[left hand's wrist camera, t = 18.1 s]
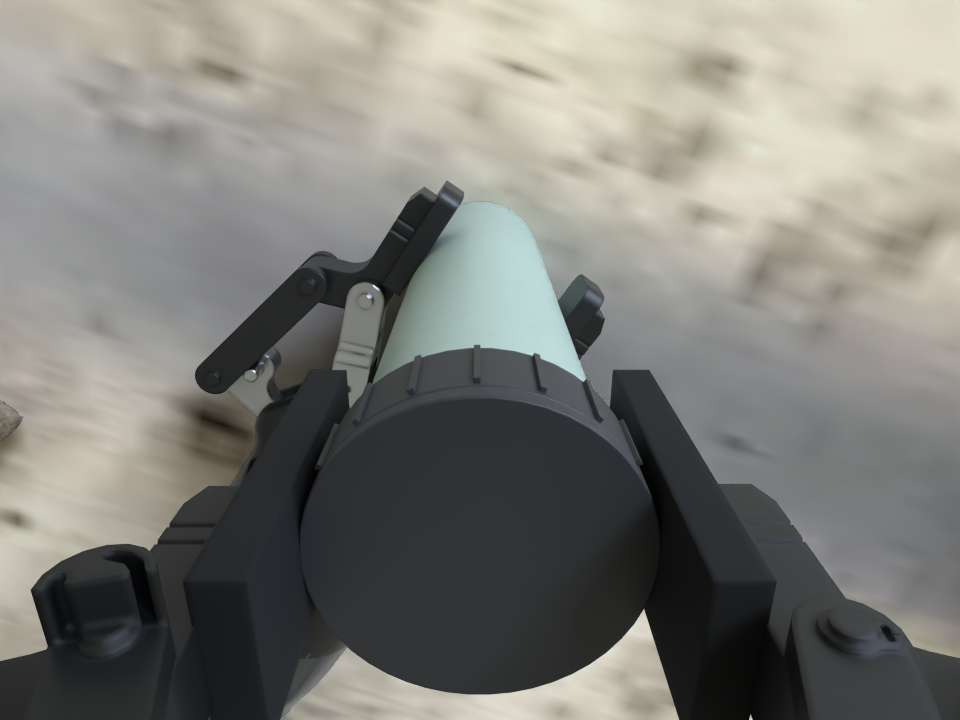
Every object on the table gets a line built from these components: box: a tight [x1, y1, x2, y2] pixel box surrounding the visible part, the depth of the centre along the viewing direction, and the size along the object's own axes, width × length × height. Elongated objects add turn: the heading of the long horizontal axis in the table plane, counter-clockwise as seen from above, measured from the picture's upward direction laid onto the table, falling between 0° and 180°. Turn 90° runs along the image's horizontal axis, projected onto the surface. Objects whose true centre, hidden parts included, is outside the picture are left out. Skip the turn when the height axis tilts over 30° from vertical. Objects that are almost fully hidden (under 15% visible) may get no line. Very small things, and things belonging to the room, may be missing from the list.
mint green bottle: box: [372, 202, 586, 385], centre depth 20 cm, size 5×5×19 cm
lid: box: [299, 345, 661, 694], centre depth 11 cm, size 6×6×2 cm
